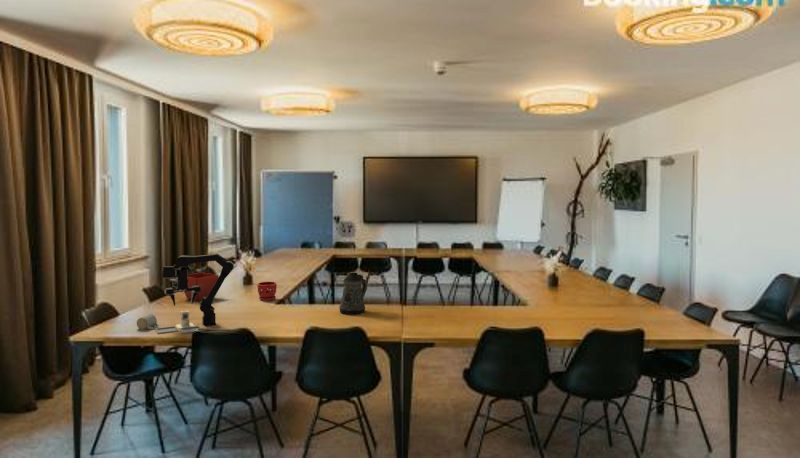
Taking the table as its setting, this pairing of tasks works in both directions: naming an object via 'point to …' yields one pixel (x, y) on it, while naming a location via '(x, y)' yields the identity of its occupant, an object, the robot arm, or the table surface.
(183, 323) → the tan rectangular block
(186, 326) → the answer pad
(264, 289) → the plant pot
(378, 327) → the table surface
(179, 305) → the table surface
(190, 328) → the tray
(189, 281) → the plant pot
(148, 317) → the ceramic mug
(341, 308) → the beer stein
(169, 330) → the tray
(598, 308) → the table surface
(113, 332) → the table surface
